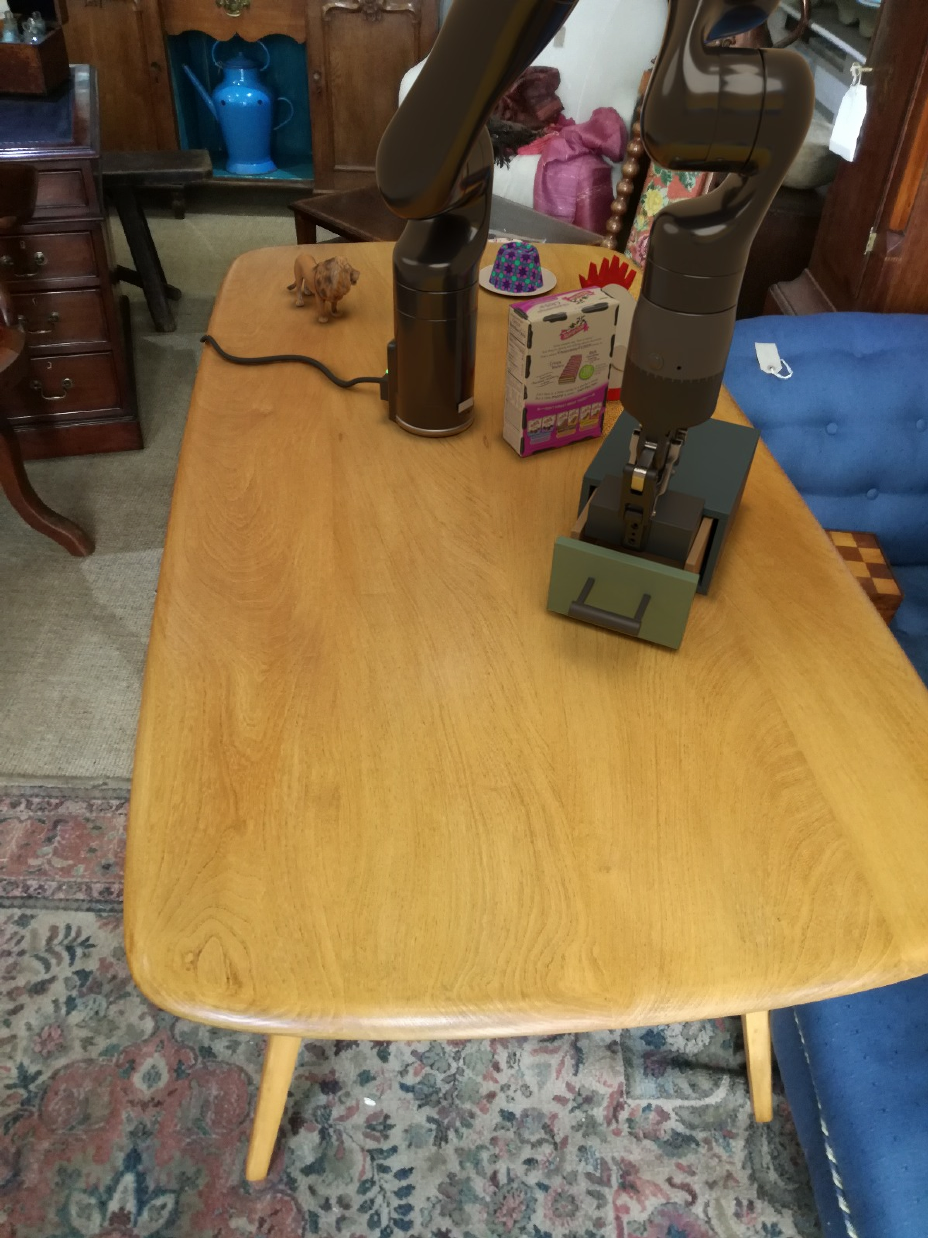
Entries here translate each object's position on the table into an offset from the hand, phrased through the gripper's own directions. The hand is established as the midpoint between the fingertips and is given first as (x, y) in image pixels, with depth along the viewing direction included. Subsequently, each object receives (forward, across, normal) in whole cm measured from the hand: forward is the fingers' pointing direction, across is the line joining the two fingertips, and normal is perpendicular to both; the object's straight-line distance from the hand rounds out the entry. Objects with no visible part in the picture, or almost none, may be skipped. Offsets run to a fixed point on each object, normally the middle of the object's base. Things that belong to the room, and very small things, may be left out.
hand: (641, 529), depth 82 cm
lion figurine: (+9, +41, +56) cm, 70 cm away
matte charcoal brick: (0, 0, 0) cm, 0 cm away
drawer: (+8, -1, 0) cm, 8 cm away
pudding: (+9, +62, +35) cm, 72 cm away
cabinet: (+9, +12, 0) cm, 15 cm away
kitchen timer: (+9, +41, +16) cm, 45 cm away
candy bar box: (+9, +24, +16) cm, 30 cm away
